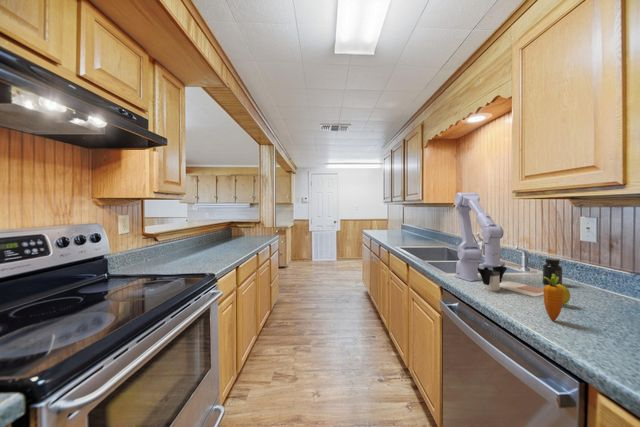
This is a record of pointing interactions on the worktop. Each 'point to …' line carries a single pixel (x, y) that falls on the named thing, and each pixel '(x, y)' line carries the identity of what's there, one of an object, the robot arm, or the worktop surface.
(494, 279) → the grey rectangular block
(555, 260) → the supplement bottle
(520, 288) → the paper sheet
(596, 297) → the worktop surface
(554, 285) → the carrot
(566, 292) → the lemon
